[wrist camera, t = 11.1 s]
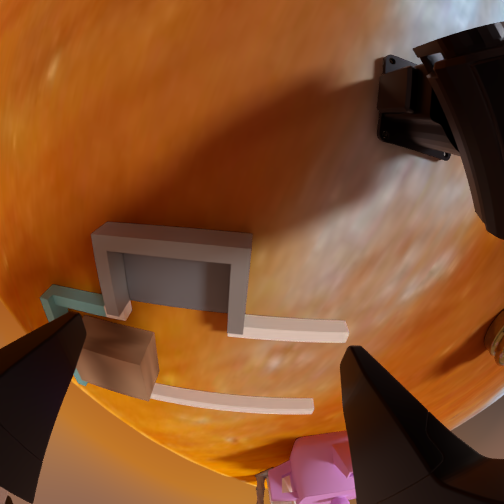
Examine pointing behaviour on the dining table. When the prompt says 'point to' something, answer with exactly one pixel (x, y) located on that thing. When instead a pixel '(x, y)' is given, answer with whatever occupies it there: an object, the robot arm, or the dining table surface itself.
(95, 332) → the block
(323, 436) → the teakettle
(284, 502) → the skyscraper
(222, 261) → the walled track with bay
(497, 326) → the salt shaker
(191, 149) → the dining table surface
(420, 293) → the dining table surface
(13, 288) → the dining table surface
